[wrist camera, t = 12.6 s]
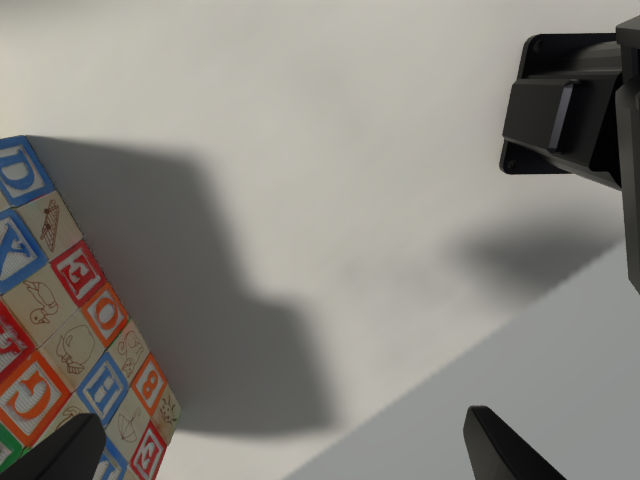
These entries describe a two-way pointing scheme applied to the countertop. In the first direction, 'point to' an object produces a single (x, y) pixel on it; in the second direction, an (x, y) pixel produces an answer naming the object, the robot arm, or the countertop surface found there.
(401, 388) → the countertop surface
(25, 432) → the stack of blocks
